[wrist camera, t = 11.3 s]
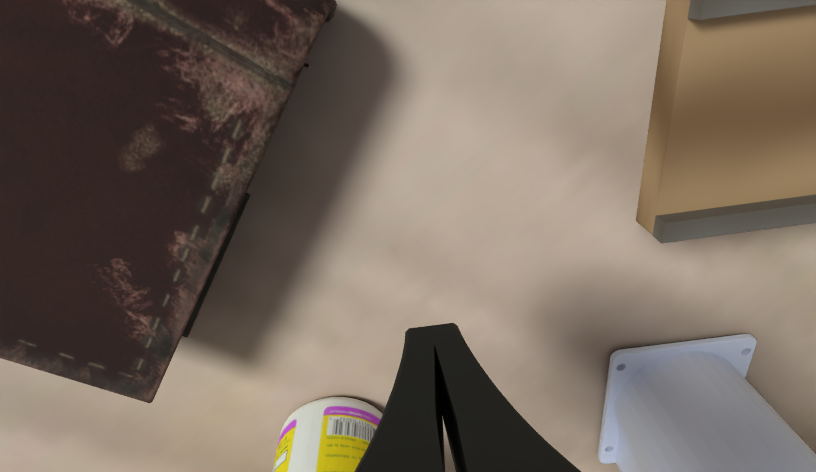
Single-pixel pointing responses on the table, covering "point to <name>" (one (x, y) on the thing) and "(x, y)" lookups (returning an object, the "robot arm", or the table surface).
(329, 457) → the supplement bottle
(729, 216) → the beam
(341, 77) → the table surface
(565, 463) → the robot arm
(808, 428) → the table surface
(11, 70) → the diary
